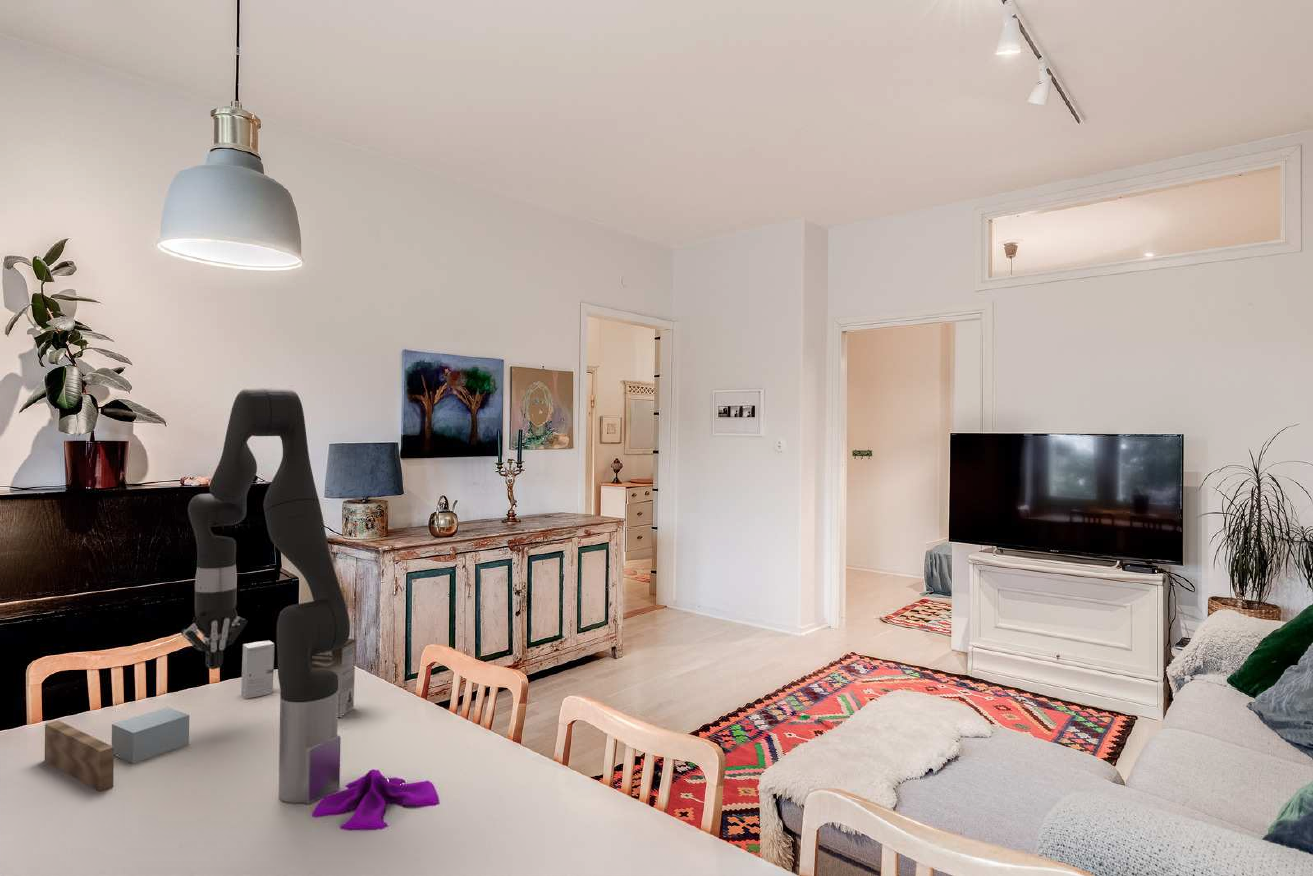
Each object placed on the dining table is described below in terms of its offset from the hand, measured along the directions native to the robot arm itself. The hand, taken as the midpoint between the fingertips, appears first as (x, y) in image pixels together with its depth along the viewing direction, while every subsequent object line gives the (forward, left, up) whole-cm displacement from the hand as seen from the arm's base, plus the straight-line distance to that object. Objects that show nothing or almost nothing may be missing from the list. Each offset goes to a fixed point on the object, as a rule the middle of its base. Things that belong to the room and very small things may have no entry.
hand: (214, 667), depth 150 cm
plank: (0, +24, -13) cm, 27 cm away
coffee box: (-13, -18, -13) cm, 26 cm away
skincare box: (+11, -16, -13) cm, 23 cm away
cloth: (-53, +2, -14) cm, 55 cm away
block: (0, +12, -13) cm, 18 cm away
